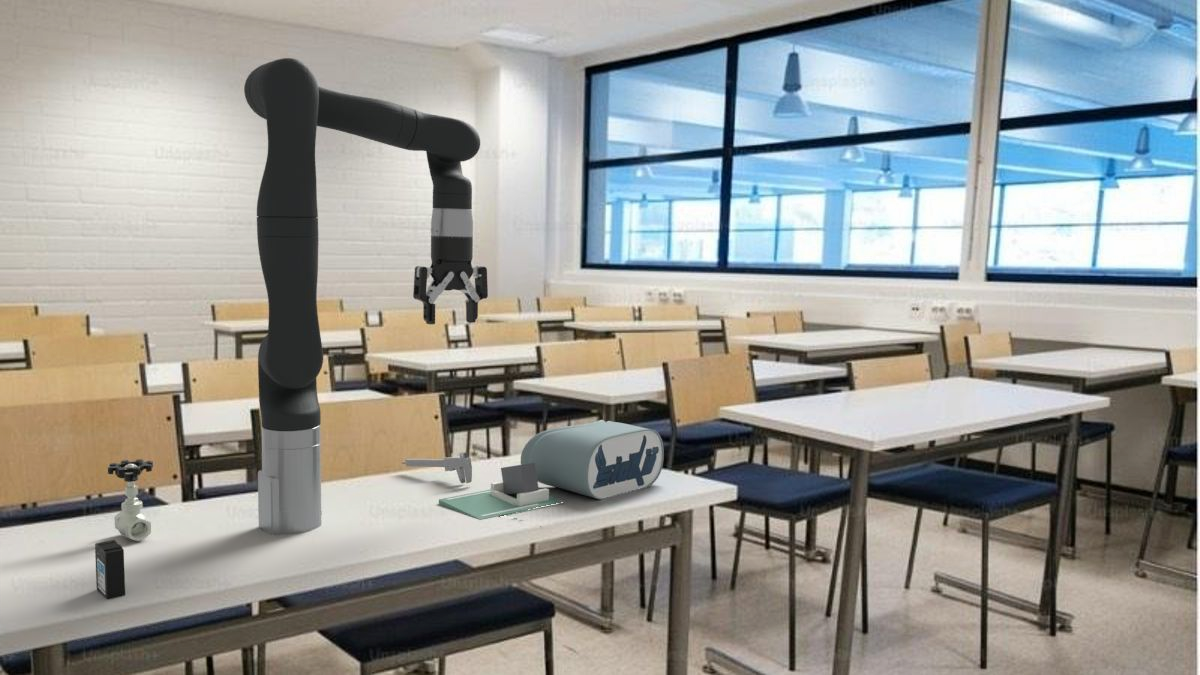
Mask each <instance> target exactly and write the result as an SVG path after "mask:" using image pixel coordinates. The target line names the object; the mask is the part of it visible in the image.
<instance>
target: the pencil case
mask: <svg viewBox="0 0 1200 675" xmlns="http://www.w3.org/2000/svg"><path fill="white" fill-rule="evenodd" d="M520 454H521V455H520V465H522V464H528V463H535V468H536V475H537V481H538V483H540V484H543V485H546V486H548V487H549V486H550V487H552V488H556V487H558V488H557V489H561V490H566V491H569V492H573V493H576V494H579V495H583V496H586V497H589V498H592V499H597V500H600V501H601V500H604V499H603V498H605V499H607V498H606V497H608V498H610V496H611V497H614V496H613V495H615V496H618V495H617V494H619V495H621V494H620V493H623V494H625V493H624V492H626V493H628V492H627V491H630V492H632V491H631V490H634V491H636V490H635V489H638V490H640V488H644V489H647V487H648V488H649V487H651V486H652V485H653V484H654V483H655V482H656V481H657V480H658V479H659V476H660V474H661V472H662V470H663V466H664V458H665V456H664V454H665V452H664V443H663V439H662V436H661V435H660V434H659V432H658V431H656V430H654V429H652V428H651V429H650V428H647V427H646V428H645V427H642V426H638V425H633V424H629V423H623V422H618V421H617V422H616V421H611V420H607V421H605V420H603V419H600V420H597V421H595V422H594V421H593V422H589V423H584V424H578V425H577V424H576V425H570V426H569V425H568V426H561V427H555V428H550V429H547V430H543V431H541V432H538V433H537V434H535V435H534V436H533V437H531V438H530V439H529V440H528V442H527V443H526V444H524V447H523V449H522V451H521V453H520Z"/></svg>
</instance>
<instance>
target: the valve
mask: <svg viewBox="0 0 1200 675" xmlns="http://www.w3.org/2000/svg"><path fill="white" fill-rule="evenodd" d="M153 468H154V461H153V460H147V461H144V459H142V458H140V459H136V460H134V461H130V460H129V459H123V460H121V461H120V463H117V462H111V463H109V466H108V467H107V474H108V475H114V473H115V475H116V476H115V477H117V478H119V479H123V480H124V482H125V483H127V486H125V487H124V495H125V497H127V498H125V499H124V501H123V502H122V503H121V504H120V505H121V506H120V507H121V511H120V512H119V513H117V514H116V515H115V516H114V529H116V530H117V531H118V533H119V534H120V535H121V536H122V537H124V538H127V539H130V540H133V541H137V542H142V541H143V540H145V539H146V538H147V537H149V536H150V535H151V533H152V522H151V521H150V520H149V519H147V517H146V516H145V515H144V514H143V513H142V512H141V510H142V509H143V507H144V506H143V501H142V500H139V498H138V495H139V486H138V485H137V484H136V482H137V481H138V480H139V476H140V475H141V474H142V472H143V471H144V470H145V472H146V473H147V472H148V473H149V472H152V471H153Z"/></svg>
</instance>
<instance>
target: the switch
mask: <svg viewBox="0 0 1200 675" xmlns="http://www.w3.org/2000/svg"><path fill="white" fill-rule="evenodd" d="M500 471H501V477H502V481H503V486H504V493H505V494H515V493H524V492H529V491H535V490H539V488H540V487H539V482H538V481H537V475H536V468H535V463H528V464H522V465H521V464H516V465H511V466H505V467H504V466H503V467H500Z"/></svg>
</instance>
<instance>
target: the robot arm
mask: <svg viewBox="0 0 1200 675" xmlns="http://www.w3.org/2000/svg"><path fill="white" fill-rule="evenodd" d="M243 90H244V96H245V101H246V103H247V104H248V106H249V108H250V109H251V110H252V111H253V113H255V114H256V115H257V116H259V117H261V118H262V119H264V120H265V121H266V128H267V129H266V130H267V133H266V134H267V156H266V162H265V166H264V170H263V174H262V178H261V180H260V181H261V182H260V185H259V186H260V187H259V190H258V196H257V203H256V232H257V233H256V236H257V237H256V238H257V248H258V253H259V254H258V255H259V260H260V261H259V262H260V266H261V271H262V275H263V280H264V283H265V284H264V285H265V288H266V293H267V301H268V326H267V334H266V335H265V336H264V337H263V339H262V340H261V343H260V345H259V348H258V354H257V371H258V372H257V375H258V377H257V378H258V402H259V409H260V418H261V419H260V420H261V466H262V467H261V469H260V470H258V472H257V495H258V496H257V500H258V503H257V504H258V507H257V508H258V527H259V528H260V529H261V530H263V531H265V533H266V534H268V533H269V534H268V535H270V536H277V534H278V535H293V534H294V535H295V534H301V533H306V532H310V531H313V530H316V529H318V528H320V527H321V526H322V515H323V514H322V512H323V511H322V459H321V458H322V454H321V453H322V450H321V449H322V447H321V446H322V442H321V439H322V438H321V423H322V422H321V421H322V420H321V415H322V414H321V413H322V412H321V406H320V403H319V399H318V398H319V397H318V391H317V390H318V387H317V377H318V376H319V374H320V372H321V370H322V368H323V363H324V350H323V346H322V345H323V344H322V337H321V331H320V322H319V314H318V303H317V302H318V301H317V294H318V293H317V292H318V290H317V289H318V276H319V212H318V197H317V196H318V194H317V189H318V188H317V169H316V143H317V142H316V140H317V127H320V128H326V129H330V130H331V129H332V130H335V131H338V132H343V133H346V134H350V135H354V136H357V137H359V138H365V139H366V140H371V141H374V142H377V143H380V144H384V145H388V146H391V147H395V148H397V149H398V148H399V149H403V150H407V151H414V152H415V151H417V152H418V151H419V152H425V153H426V158H427V159H426V160H427V164H428V168H429V169H428V170H429V175H430V178H431V182H432V213H431V218H430V219H431V220H430V259H431V265H430V267H426V266H421V265H420V266H419V265H416V266H415V267H414V274H413V275H414V277H413V278H414V279H413V293H412V294H413V295H412V297H413V299H415V300H418V301H419V302H422V304H423V310H422V311H423V312H422V313H423V316H422V318H423V321H424V322H425V324H427V325H435V324H436V303H435V302H436V300H437V299H438V298H439V295H442V294H443V292H444V291H452V290H453V291H460V292H461V293H462V294H463V295H464V297H465V298H466V300H467V302H466V305H465V306H466V307H465V309H466V310H465V311H466V312H465V313H466V314H465V320H466V322H467V323H470V324H471V323H472V324H473V323H476V321H477V319H478V318H479V316H478V315H479V302H480V301H482V300H484V299H485V300H486V299H487V298H488V296H489V291H488V289H489V287H488V269H487V267H486V266H478V265H477V266H474V267H473V265H472V261H473V258H474V257H473V255H474V254H473V252H474V251H473V250H474V249H473V247H474V244H473V242H474V241H473V240H474V239H473V238H474V220H473V207H472V206H473V203H472V202H473V186H472V182H471V179H469V178H468V177H466V176H464V175H463V169H462V164H461V163H462V162H466V161H470V160H471V159H473V158H474V157H475V156H476V155H477V154H478V152H479V151H480V148H481V138H480V134H479V132H478V131H477V130H476V128H475V127H474V126H473V125H471V124H470V123H469V122H466V121H464V120H461V119H458V118H453V117H449V116H442V115H437V114H430V113H425V112H422V111H419V110H417V109H413V108H411V107H408V106H404V105H401V104H399V103H394V102H391V101H388V100H383V99H378V98H373V97H366V96H358V95H354V94H353V95H352V94H348V93H347V94H346V93H342V92H339V91H334V90H330V89H327V88H323V87H321V86H319V85H318V82H317V78H316V76H315V74H314V73H313V72H312V70H311V69H310V67H309V66H308V65H306V64H305V63H304V62H303V61H301V60H299V59H296V58H293V57H292V58H291V57H284V58H278V59H275V60H272V61H269V62H266V63H264V64H262V65H261V64H260V65H259V66H257V67H256V68H255V69H253V70H252V71H251V72H250V74H248V76H247V78H246V80H245V82H244V88H243ZM430 276H431V278H432V281H431V282H430V284H429V285H427V282H428V279H429V278H430ZM472 277H473V278H474V284H473V283H472V282H471V278H472ZM427 286H428V287H427Z"/></svg>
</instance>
